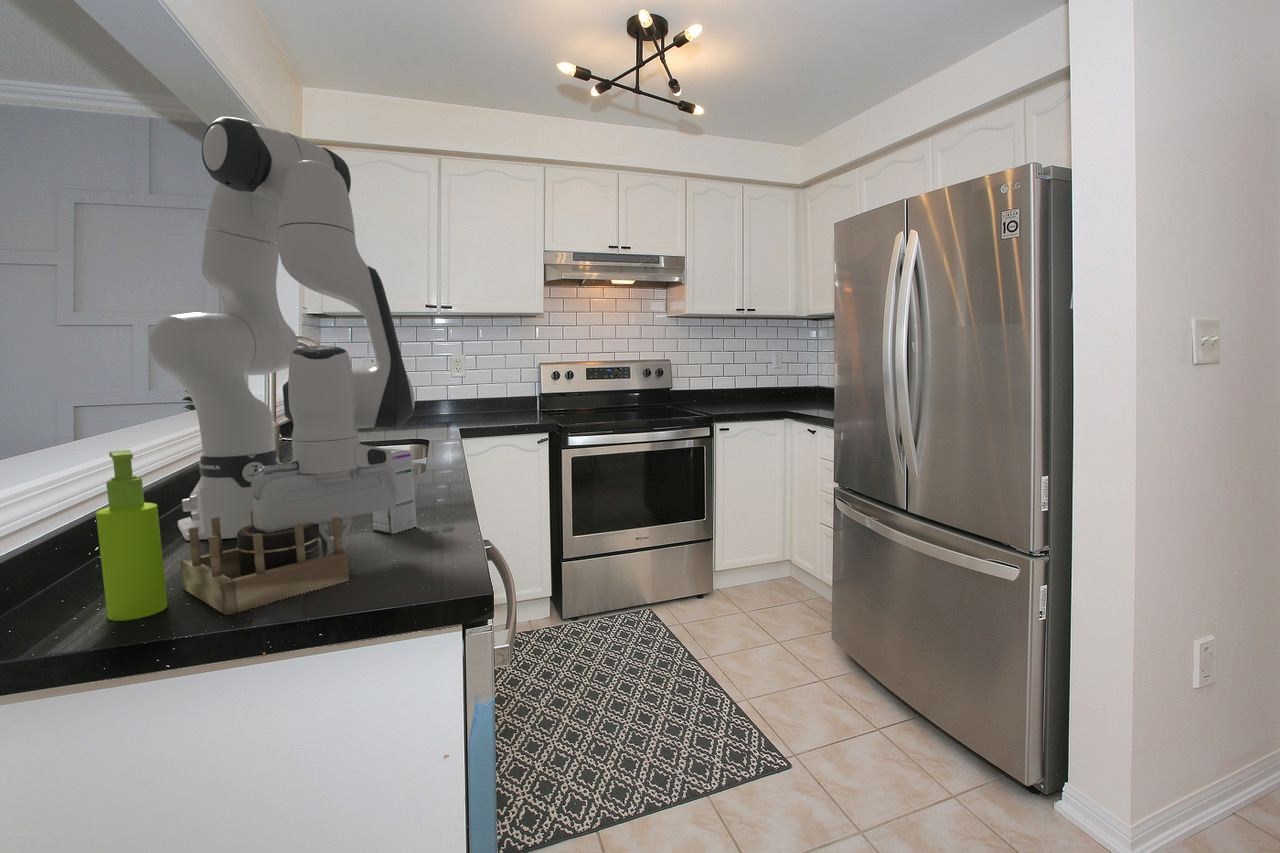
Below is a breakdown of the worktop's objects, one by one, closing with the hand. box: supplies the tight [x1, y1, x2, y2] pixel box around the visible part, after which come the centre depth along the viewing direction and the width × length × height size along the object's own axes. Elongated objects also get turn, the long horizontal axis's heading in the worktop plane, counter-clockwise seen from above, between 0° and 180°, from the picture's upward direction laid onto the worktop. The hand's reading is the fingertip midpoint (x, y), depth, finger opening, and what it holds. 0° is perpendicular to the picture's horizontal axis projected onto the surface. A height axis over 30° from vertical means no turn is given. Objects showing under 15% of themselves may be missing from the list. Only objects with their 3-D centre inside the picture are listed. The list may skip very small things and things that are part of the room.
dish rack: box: [180, 511, 350, 616], centre depth 88 cm, size 15×15×9 cm
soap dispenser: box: [95, 449, 168, 622], centre depth 79 cm, size 6×7×20 cm
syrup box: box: [370, 447, 418, 535], centre depth 115 cm, size 6×6×14 cm
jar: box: [236, 523, 320, 577], centre depth 90 cm, size 10×10×8 cm
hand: (333, 549), depth 95 cm, fingers closed
